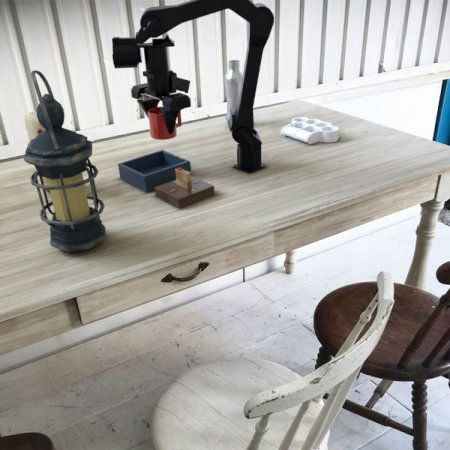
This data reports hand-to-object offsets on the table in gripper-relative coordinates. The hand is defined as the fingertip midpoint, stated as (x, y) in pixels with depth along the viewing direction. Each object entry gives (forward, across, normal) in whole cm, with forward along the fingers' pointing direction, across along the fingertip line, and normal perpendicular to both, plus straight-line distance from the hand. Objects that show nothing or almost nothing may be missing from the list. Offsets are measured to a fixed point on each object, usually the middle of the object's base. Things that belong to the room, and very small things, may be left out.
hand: (163, 130), depth 137 cm
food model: (+12, +11, +28) cm, 32 cm away
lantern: (+12, -19, +36) cm, 43 cm away
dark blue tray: (+12, -1, +4) cm, 12 cm away
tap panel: (+12, -16, +6) cm, 20 cm away
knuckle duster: (+11, -8, -49) cm, 51 cm away
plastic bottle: (+12, +17, -40) cm, 45 cm away
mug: (+1, 0, -1) cm, 2 cm away
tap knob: (+9, -16, +6) cm, 19 cm away
